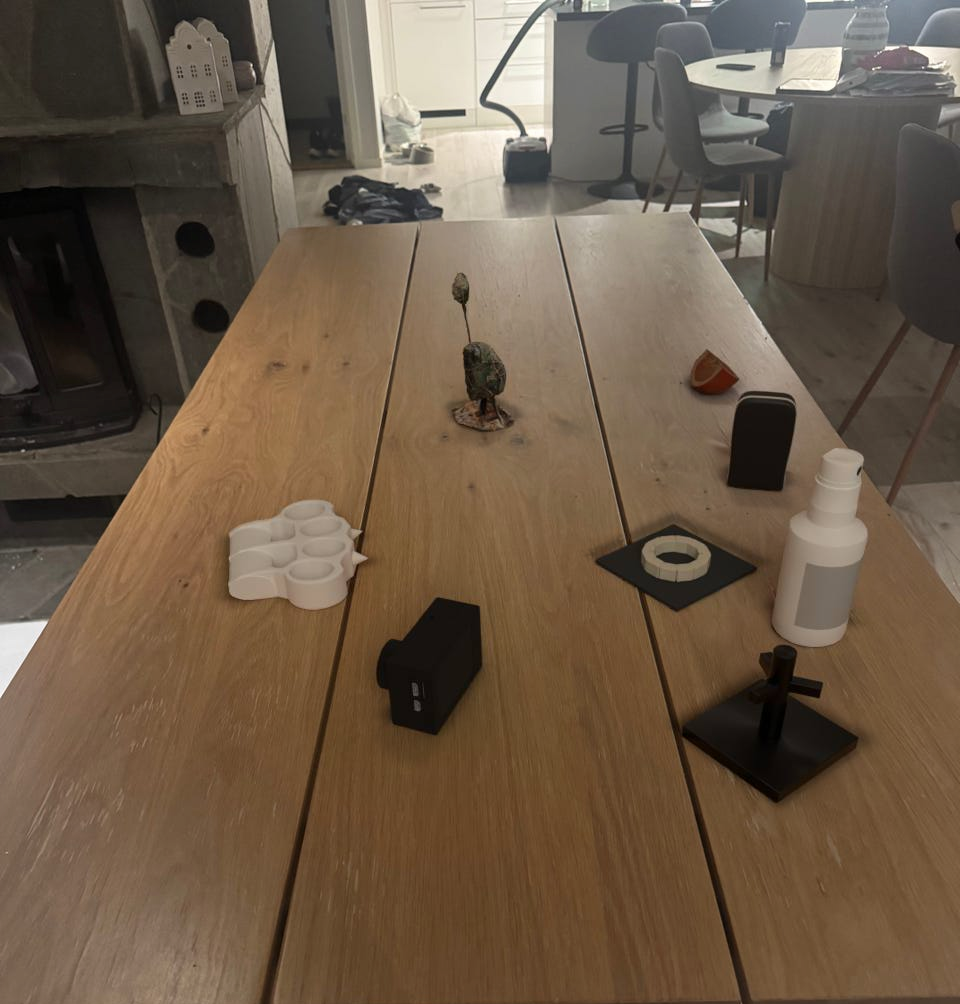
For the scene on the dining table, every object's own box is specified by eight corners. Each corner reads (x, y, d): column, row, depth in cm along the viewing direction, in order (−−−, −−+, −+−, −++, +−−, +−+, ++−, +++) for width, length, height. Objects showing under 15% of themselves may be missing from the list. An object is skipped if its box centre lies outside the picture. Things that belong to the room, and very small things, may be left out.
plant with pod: (462, 443, 128) (455, 291, 116) (449, 410, 137) (441, 266, 125) (521, 436, 129) (520, 285, 117) (504, 404, 138) (501, 260, 126)
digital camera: (430, 653, 91) (425, 592, 87) (482, 665, 89) (480, 603, 85) (379, 721, 83) (371, 658, 79) (436, 736, 82) (430, 672, 77)
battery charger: (784, 479, 117) (800, 389, 110) (784, 493, 114) (800, 402, 107) (726, 474, 119) (737, 385, 112) (724, 488, 116) (736, 397, 109)
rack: (760, 688, 85) (776, 599, 80) (856, 748, 79) (881, 656, 73) (681, 736, 81) (692, 645, 75) (776, 804, 74) (796, 710, 68)
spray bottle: (824, 658, 88) (863, 482, 78) (757, 630, 92) (786, 459, 82) (857, 624, 92) (899, 453, 82) (792, 599, 96) (824, 432, 85)
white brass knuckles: (233, 534, 111) (359, 518, 113) (232, 622, 96) (376, 602, 98) (227, 509, 109) (356, 493, 111) (225, 594, 94) (373, 574, 96)
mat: (673, 526, 109) (673, 523, 108) (757, 570, 101) (757, 566, 100) (594, 562, 103) (595, 559, 103) (676, 611, 95) (677, 608, 95)
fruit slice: (683, 381, 143) (686, 348, 140) (727, 378, 143) (731, 346, 140) (697, 403, 136) (701, 369, 133) (743, 400, 136) (748, 366, 134)
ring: (674, 539, 106) (675, 528, 105) (722, 565, 101) (724, 554, 100) (628, 561, 102) (628, 550, 101) (676, 589, 98) (677, 577, 97)
